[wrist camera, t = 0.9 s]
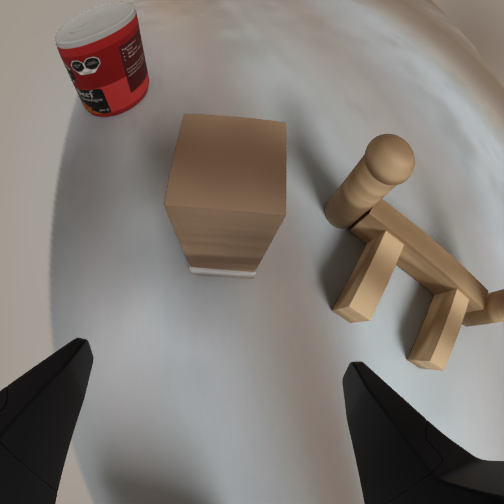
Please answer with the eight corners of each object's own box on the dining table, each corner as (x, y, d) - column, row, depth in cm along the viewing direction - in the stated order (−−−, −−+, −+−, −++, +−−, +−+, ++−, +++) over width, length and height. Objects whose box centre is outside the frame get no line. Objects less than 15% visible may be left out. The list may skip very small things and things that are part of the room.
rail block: (252, 280, 23) (288, 218, 11) (192, 275, 23) (160, 207, 10) (255, 224, 25) (288, 121, 12) (198, 219, 24) (182, 112, 12)
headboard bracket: (449, 387, 22) (531, 395, 12) (279, 275, 24) (324, 229, 13) (479, 306, 25) (554, 287, 14) (332, 189, 26) (386, 115, 16)
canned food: (78, 96, 27) (48, 30, 16) (135, 65, 29) (120, -5, 18) (97, 131, 26) (61, 54, 15) (161, 94, 28) (148, 12, 17)
